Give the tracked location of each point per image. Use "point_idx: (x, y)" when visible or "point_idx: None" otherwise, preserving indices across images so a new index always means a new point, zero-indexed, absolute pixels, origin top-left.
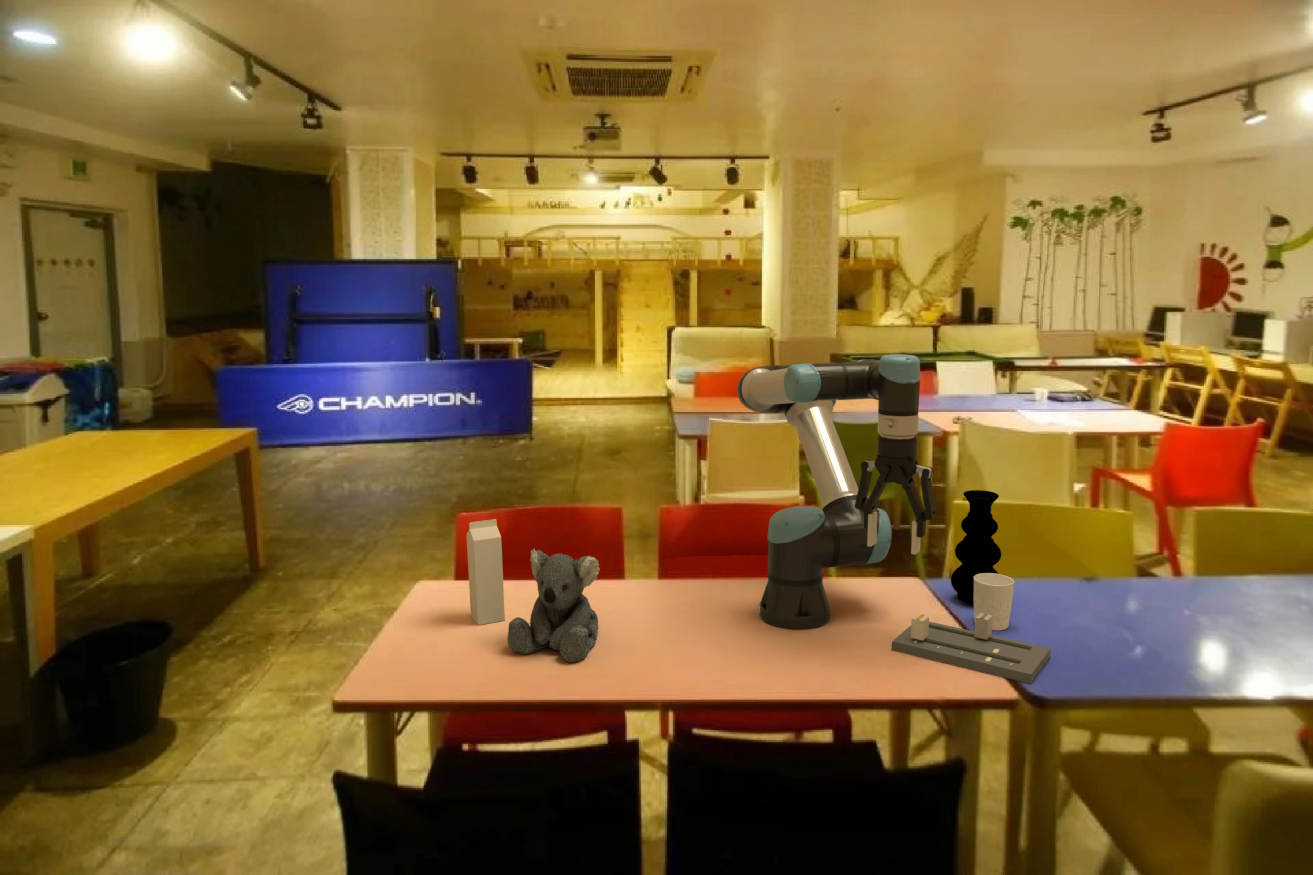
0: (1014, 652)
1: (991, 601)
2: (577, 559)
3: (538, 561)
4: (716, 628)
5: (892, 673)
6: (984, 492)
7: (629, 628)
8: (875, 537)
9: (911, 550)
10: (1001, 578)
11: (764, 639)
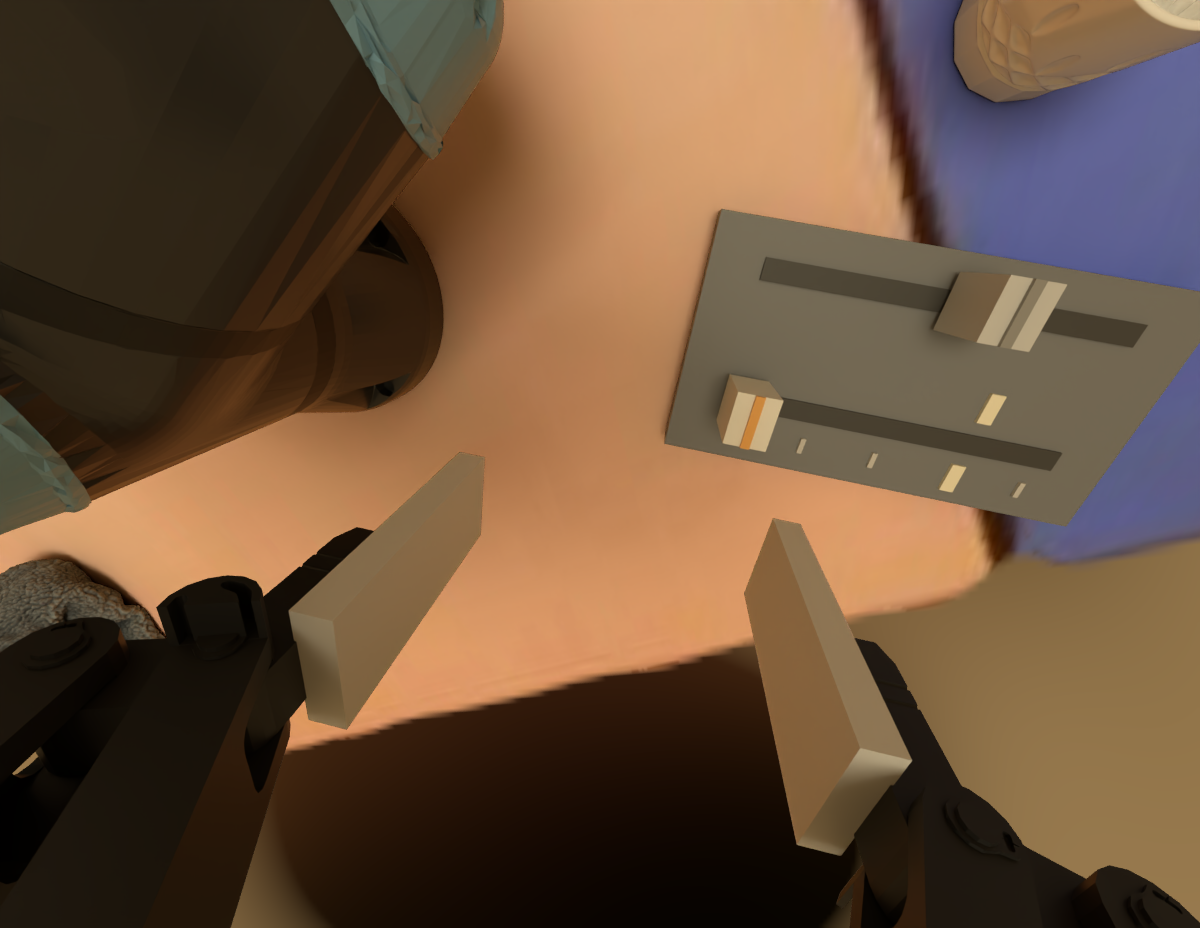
0: (1057, 390)
1: (1121, 64)
2: None
3: None
4: (244, 464)
5: (688, 558)
6: None
7: (120, 527)
8: (464, 493)
9: (749, 608)
10: None
11: (366, 484)
